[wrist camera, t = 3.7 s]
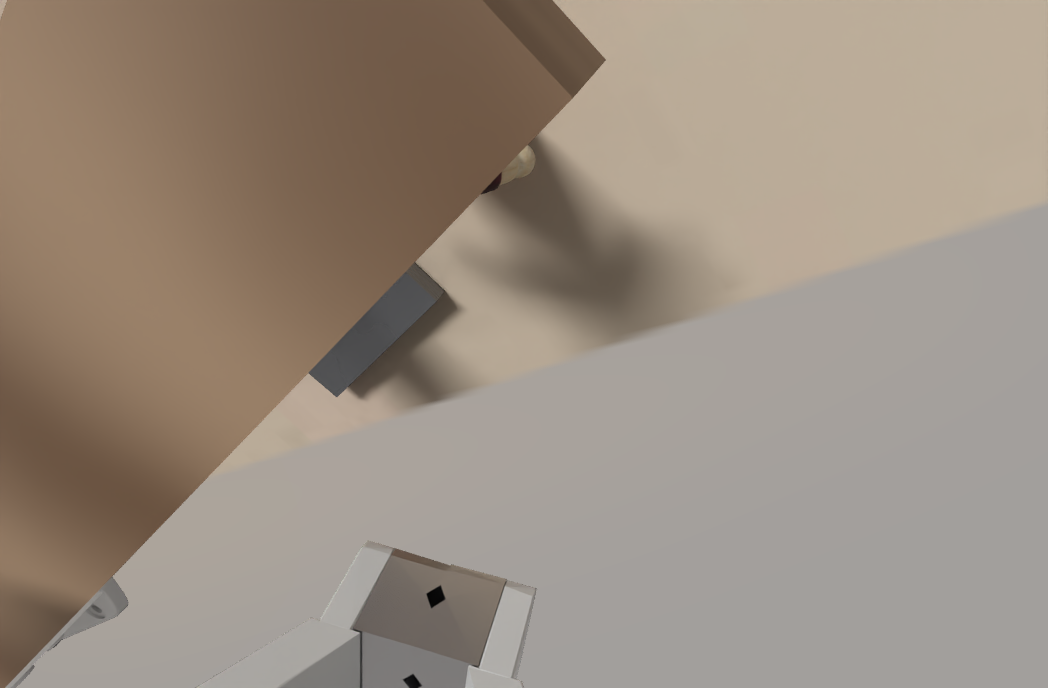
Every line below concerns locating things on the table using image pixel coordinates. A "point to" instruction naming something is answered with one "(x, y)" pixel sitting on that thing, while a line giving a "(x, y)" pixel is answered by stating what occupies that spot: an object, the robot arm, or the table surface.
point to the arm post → (377, 330)
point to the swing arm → (216, 234)
